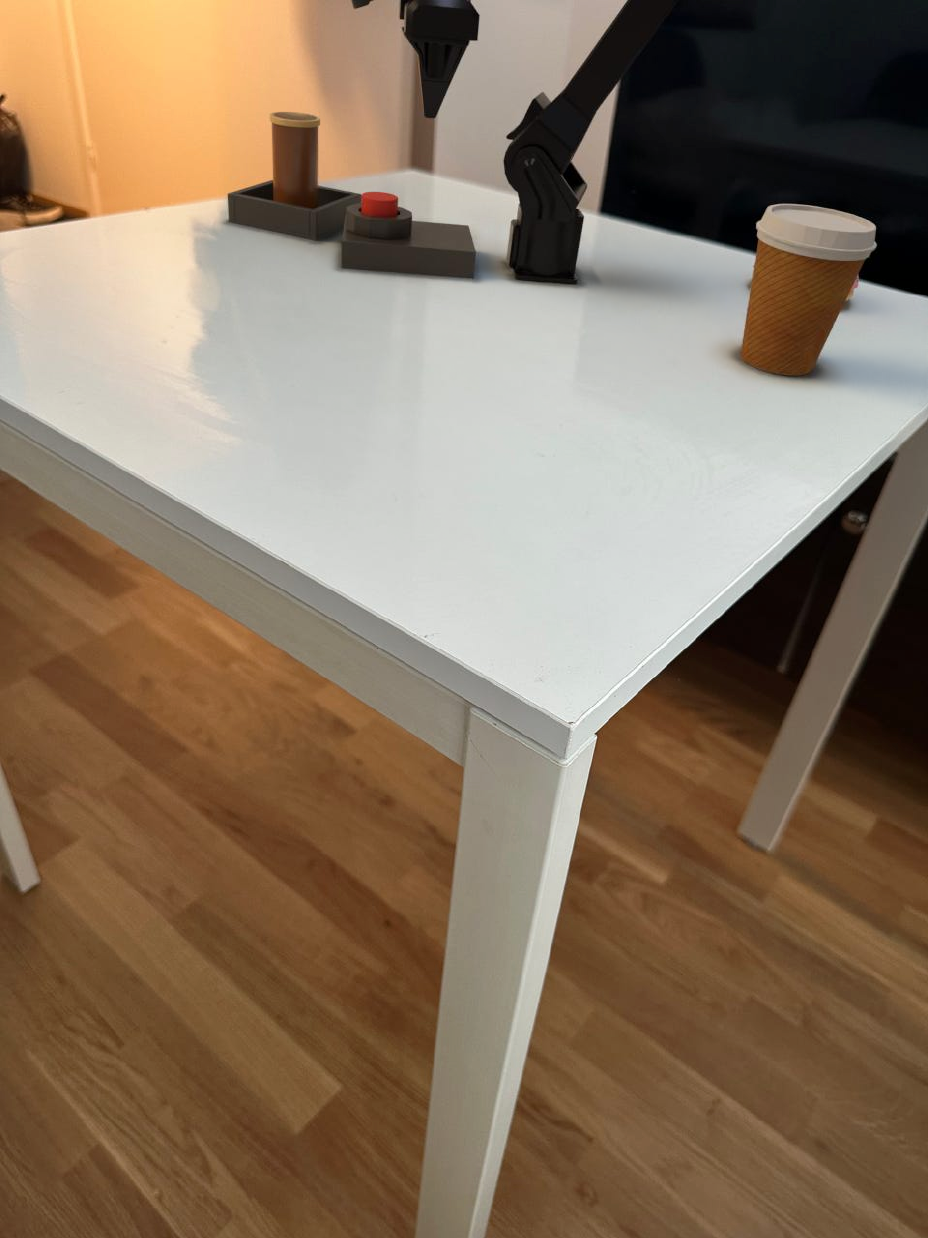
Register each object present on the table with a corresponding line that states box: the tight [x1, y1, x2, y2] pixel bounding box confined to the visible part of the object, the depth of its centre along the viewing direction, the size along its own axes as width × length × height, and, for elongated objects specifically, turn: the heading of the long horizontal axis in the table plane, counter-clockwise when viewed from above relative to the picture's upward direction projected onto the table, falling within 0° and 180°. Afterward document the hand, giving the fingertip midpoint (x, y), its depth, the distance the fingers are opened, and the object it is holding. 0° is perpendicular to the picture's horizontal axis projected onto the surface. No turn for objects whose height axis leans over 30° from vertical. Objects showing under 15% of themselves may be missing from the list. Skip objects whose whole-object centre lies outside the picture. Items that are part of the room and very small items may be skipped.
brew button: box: [361, 191, 399, 217], centre depth 92 cm, size 4×4×2 cm
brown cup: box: [269, 111, 321, 209], centre depth 99 cm, size 5×5×10 cm
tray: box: [227, 179, 363, 242], centre depth 101 cm, size 11×11×3 cm
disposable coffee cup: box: [739, 203, 878, 376], centre depth 77 cm, size 10×10×12 cm
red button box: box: [340, 202, 477, 280], centre depth 94 cm, size 13×10×4 cm
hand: (429, 117), depth 90 cm, fingers closed
